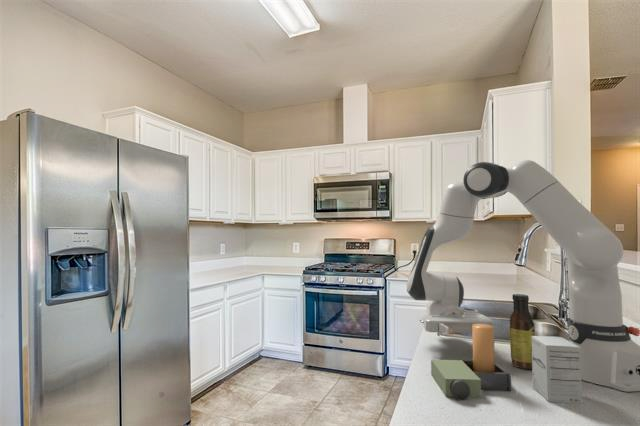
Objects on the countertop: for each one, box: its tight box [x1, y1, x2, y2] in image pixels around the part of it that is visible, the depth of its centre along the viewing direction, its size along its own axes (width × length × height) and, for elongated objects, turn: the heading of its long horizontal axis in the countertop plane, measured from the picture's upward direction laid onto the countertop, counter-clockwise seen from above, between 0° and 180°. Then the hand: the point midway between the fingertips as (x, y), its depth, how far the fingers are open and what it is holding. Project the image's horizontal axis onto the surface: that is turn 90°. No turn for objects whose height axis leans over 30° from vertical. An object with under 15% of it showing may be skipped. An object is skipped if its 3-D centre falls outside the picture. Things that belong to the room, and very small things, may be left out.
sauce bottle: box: [509, 293, 536, 370], centre depth 98 cm, size 7×6×20 cm
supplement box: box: [531, 335, 583, 405], centre depth 80 cm, size 7×7×13 cm
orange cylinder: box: [471, 324, 496, 372], centre depth 87 cm, size 5×5×14 cm
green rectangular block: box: [430, 359, 482, 401], centre depth 84 cm, size 8×14×4 cm, turn 177°
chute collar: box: [461, 359, 512, 392], centre depth 87 cm, size 8×9×4 cm
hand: (466, 331), depth 98 cm, fingers open, 8 cm apart
